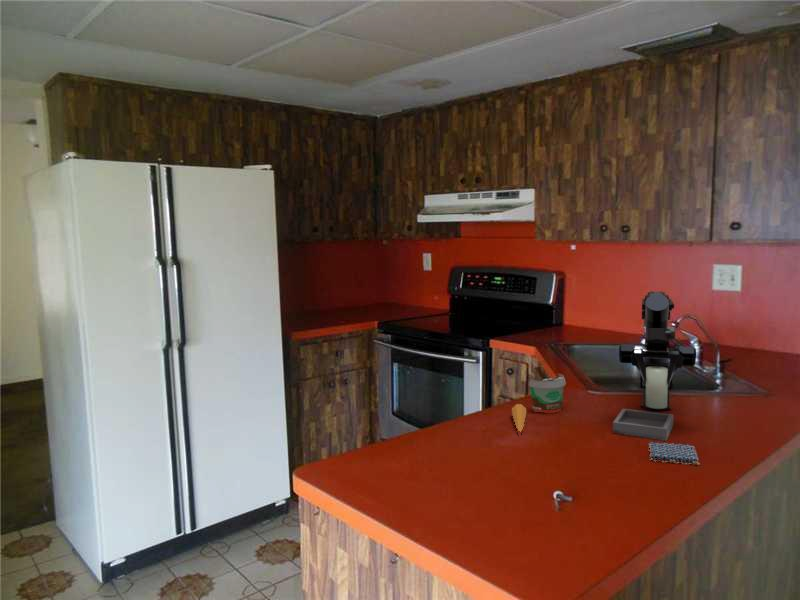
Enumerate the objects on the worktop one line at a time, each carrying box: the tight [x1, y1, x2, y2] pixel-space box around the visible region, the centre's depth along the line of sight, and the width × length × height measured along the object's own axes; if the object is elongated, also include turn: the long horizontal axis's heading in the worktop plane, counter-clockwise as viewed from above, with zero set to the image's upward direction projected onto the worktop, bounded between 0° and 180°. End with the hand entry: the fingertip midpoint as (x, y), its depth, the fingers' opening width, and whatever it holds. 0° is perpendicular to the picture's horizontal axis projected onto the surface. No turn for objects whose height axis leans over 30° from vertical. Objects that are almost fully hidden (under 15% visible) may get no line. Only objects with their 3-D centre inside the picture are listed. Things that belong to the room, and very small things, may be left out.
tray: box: [612, 408, 674, 442], centre depth 157 cm, size 13×13×3 cm
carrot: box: [511, 403, 527, 432], centre depth 163 cm, size 20×4×4 cm, turn 169°
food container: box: [528, 373, 567, 410], centre depth 175 cm, size 12×6×10 cm, turn 117°
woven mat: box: [647, 440, 701, 466], centre depth 139 cm, size 10×11×2 cm
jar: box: [646, 366, 669, 409], centre depth 154 cm, size 5×5×10 cm
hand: (656, 382), depth 152 cm, fingers closed on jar, 5 cm apart
